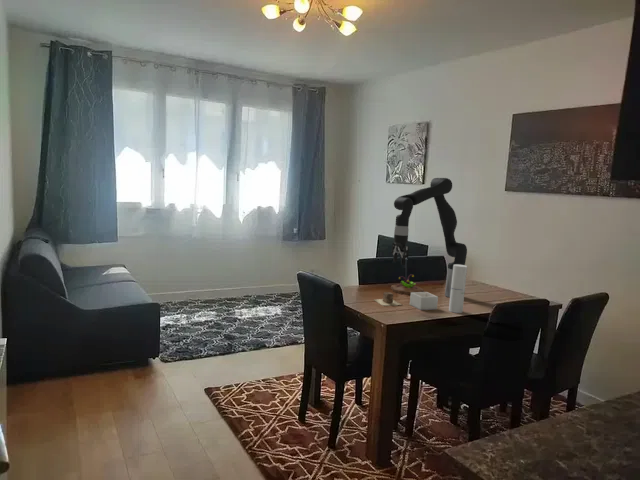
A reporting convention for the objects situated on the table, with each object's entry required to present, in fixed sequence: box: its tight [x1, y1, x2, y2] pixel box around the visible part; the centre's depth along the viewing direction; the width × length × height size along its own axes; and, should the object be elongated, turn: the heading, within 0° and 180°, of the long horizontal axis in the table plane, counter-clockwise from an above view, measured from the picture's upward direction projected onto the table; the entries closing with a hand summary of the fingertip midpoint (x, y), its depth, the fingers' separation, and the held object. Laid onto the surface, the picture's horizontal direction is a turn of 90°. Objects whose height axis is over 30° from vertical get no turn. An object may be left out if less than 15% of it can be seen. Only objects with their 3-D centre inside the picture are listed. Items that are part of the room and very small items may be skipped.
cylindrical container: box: [448, 264, 468, 314], centre depth 249 cm, size 7×7×25 cm
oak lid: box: [372, 292, 403, 307], centre depth 259 cm, size 12×12×6 cm
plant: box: [390, 273, 425, 296], centre depth 291 cm, size 20×20×11 cm
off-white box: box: [409, 291, 439, 311], centre depth 254 cm, size 11×11×7 cm
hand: (399, 263), depth 256 cm, fingers open, 8 cm apart
